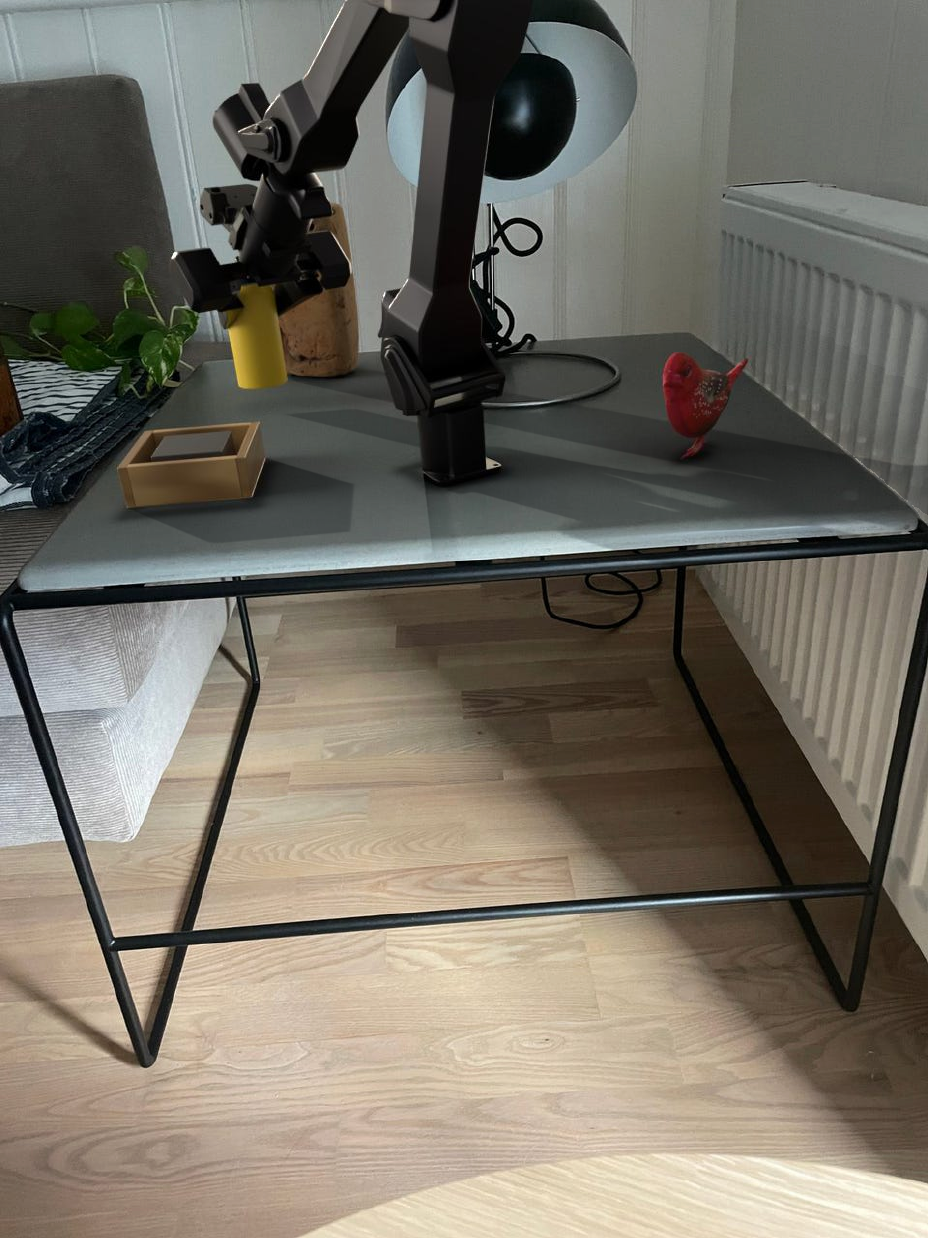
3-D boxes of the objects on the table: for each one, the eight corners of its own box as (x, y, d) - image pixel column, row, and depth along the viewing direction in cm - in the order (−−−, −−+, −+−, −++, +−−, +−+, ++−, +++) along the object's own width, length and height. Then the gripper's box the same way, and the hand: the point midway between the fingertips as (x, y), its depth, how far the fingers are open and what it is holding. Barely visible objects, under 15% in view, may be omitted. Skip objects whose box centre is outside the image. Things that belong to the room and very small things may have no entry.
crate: (266, 465, 90) (259, 421, 88) (253, 505, 81) (244, 457, 79) (155, 474, 90) (144, 430, 87) (128, 516, 80) (116, 467, 78)
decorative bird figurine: (644, 474, 81) (647, 357, 77) (728, 419, 93) (736, 315, 89) (675, 479, 80) (680, 360, 75) (757, 423, 92) (766, 317, 87)
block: (368, 365, 124) (350, 199, 114) (349, 380, 117) (328, 205, 108) (291, 365, 126) (267, 203, 117) (268, 380, 120) (241, 209, 110)
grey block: (238, 467, 87) (231, 430, 86) (228, 489, 82) (221, 451, 80) (172, 472, 87) (164, 435, 86) (159, 495, 82) (150, 456, 80)
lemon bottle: (295, 382, 107) (276, 260, 101) (248, 391, 105) (226, 267, 98) (277, 373, 111) (258, 256, 105) (231, 382, 109) (209, 262, 103)
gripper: (323, 147, 99) (286, 253, 112) (155, 162, 89) (136, 276, 102) (373, 230, 97) (330, 328, 110) (208, 255, 87) (182, 359, 100)
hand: (247, 321), depth 106 cm, fingers closed on lemon bottle, 5 cm apart
